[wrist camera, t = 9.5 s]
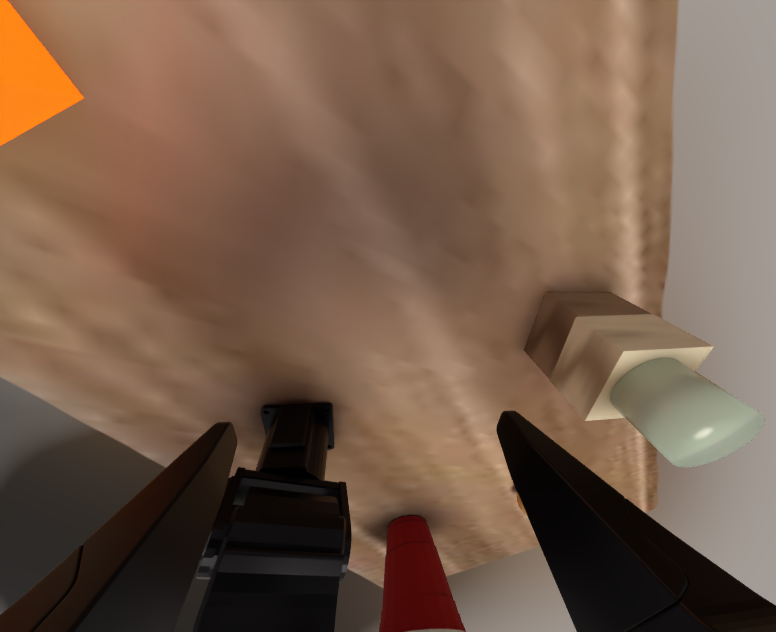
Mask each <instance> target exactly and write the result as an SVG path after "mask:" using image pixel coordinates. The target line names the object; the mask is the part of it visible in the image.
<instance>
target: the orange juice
mask: <svg viewBox="0 0 776 632" xmlns="http://www.w3.org/2000/svg"><path fill="white" fill-rule="evenodd" d="M83 98H84V97H83V96H82V95H81V94H80V92H79V91H78V90H77V89H76V87H75V86H74V85H73V83H72V82H71V81H70V80H69V78H68V77H67V76H66V74H65V73H64V72H63V71H62V69H61V68H60V67H59V66H58V64H57V63H56V62H55V60H54V59H53V58H52V57H51V55H50V54H49V53H48V52H47V50H46V49H45V48H44V46H43V45H42V44H41V43H40V41H39V40H38V39H37V38H36V36H35V35H34V34H33V32H32V31H31V30H30V29H29V27H28V26H27V25H26V23H25V22H24V21H23V20H22V18H21V17H20V16H19V15H18V13H17V12H16V11H15V9H14V8H13V7H12V6H11V4H10V3H9V2H8V1H7V0H0V145H2V144H4V143H6V142H7V141H9V140H11V139H13V138H15V137H16V136H18V135H20V134H22V133H23V132H25V131H27V130H29V129H30V128H32V127H34V126H36V125H38V124H39V123H41V122H43V121H45V120H46V119H48V118H50V117H52V116H53V115H55V114H57V113H59V112H61V111H62V110H64V109H66V108H68V107H69V106H71V105H73V104H75V103H76V102H78V101H80V100H82V99H83Z"/></svg>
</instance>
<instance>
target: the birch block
mask: <svg viewBox="0 0 776 632" xmlns="http://www.w3.org/2000/svg"><path fill="white" fill-rule="evenodd" d="M713 347H714V346H712V345H710V344H708V343H707V342H705V341H703V340H701V339H699V338H697V337H695V336H693V335H691V334H689V333H687V332H686V331H684V330H682V329H680V328H678V327H676V326H674V325H672V324H670V323H669V322H667V321H665V320H663V319H661V318H659V317H657V316H655V315H653V314H639V315H614V316H590V317H576V318H575V320H574V323H573V325H572V328H571V330H570V333H569V335H568V337H567V340H566V342H565V345H564V347H563V349H562V352H561V354H560V357H559V359H558V362H557V364H556V366H555V369H554V371H553V374H552V376H551V379H550V381H551V383H552V384H553V385H554V386H555V387H556V388H557V389H558V391H559V392H560V393H561V394H562V395H563V396H564V397H565V399H566V400H567V401H568V402H569V403H570V404H571V405H572V407H573V408H574V409H575V410H576V411H577V412H578V413H579V415H580V416H581V417H582V418H583V419H584V420H585V421H590V420H602V419H615V418H625V417H624V416H623V415H622V414H620V413H619V412H618V411H617V410H616V409H615V408H614V407H613V406H612V404H611V402H610V394H611V392H612V389H613V388H614V386H615V385H616V383H617V382H618V381H619V380H620V379H621V378H622V377H623V376H624V375H625V374H627V373H628V372H629V371H631V370H632V369H634V368H636V367H637V366H639V365H641V364H643V363H646V362H648V361H651V360H655V359H659V358H673V359H676V360H678V361H680V362H681V363H683V364H684V365H686V366H688V367H689V368H691V369H692V370H694V371H696V370H697V368H698V367H699V366H700V364H701V363H702V362H703V361H704V359H705V358H706V356H707V355H708V354H709V353H710V351H711V350H712V349H713Z"/></svg>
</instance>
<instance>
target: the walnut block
mask: <svg viewBox="0 0 776 632" xmlns="http://www.w3.org/2000/svg"><path fill="white" fill-rule="evenodd" d="M639 314H651V313H649V312H647V311H645V310H643V309H641V308H640V307H638V306H636V305H634V304H632V303H630V302H628V301H626V300H624V299H622V298H621V297H619V296H617V295H615V294H613V293H611V292H545V295H544V298H543V300H542V303H541V306H540V308H539V311H538V314H537V317H536V319H535V322H534V325H533V327H532V330H531V333H530V335H529V338H528V341H527V343H526V346H525V349H524V351H525V352H526V353H527V354H528V355H529V357H530V358H531V359H532V360H533V361H534V362H535V363H536V364H537V366H538V367H539V368H540V369H541V370H542V371H543V372H544V374H545V375H546V376H547V377H548V378H549V379H551V376H552V374H553V371H554V369H555V366H556V364H557V362H558V359H559V357H560V354H561V352H562V349H563V347H564V345H565V342H566V340H567V337H568V335H569V333H570V330H571V328H572V325H573V323H574V320H575V318H576V317H590V316H614V315H639Z"/></svg>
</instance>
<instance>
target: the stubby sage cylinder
mask: <svg viewBox="0 0 776 632" xmlns="http://www.w3.org/2000/svg"><path fill="white" fill-rule="evenodd" d="M610 402H611V404H612V406H613V407H614V408H615V409H616V410H617V411H618V412H619V413H620V414H622V415H623V416H624V417H625V418H626V419H627V420H628V421H629V422H630V423H631V424H632V425H633V426H634V427H635V428H636V429H637V430H638V431H639V432H640V433H641V434H642V435H643V436H644V437H645V438H646V439H647V440H648V441H649V442H650V443H651V444H652V445H653V446H654V447H655V448H656V449H657V450H658V451H659V452H661V453H662V454H663V455H664V456H665V457H666V458H667V459H668V460H669V461H670V462H671V463H672V464H673V465H675V466H678V467H694V466H699V465H703V464H706V463H710V462H713V461H715V460H718V459H720V458H723V457H725V456H727V455H729V454H731V453H733V452H734V451H736V450H738V449H739V448H741V447H742V446H744V445H745V444H747V443H748V442H749V441H751V440H752V439H753V438H754V437H755V436H756V435H757V434H758V433H759V431H760V430H761V429H762V427H763V425H764V422H765V418H764V416H763V414H761V413H760V412H758V411H757V410H755V409H754V408H752V407H750V406H749V405H747V404H745V403H744V402H743V401H741V400H739V399H738V398H736V397H734V396H733V395H732V394H730V393H728V392H727V391H725V390H724V389H722V388H721V387H719V386H717V385H716V384H714V383H712V382H711V381H710V380H708V379H706V378H705V377H703V376H702V375H700V374H699V373H697V372H695V371H694V370H692V369H691V368H689V367H688V366H686V365H684V364H683V363H681V362H680V361H678V360H676V359H673V358H659V359H655V360H651V361H648V362H646V363H643V364H641V365H639V366H637V367H636V368H634V369H632V370H631V371H629V372H628V373H627V374H625V375H624V376H623V377H622V378H621V379H620V380H619V381H618V382H617V383H616V385H615V386H614V388H613V389H612V392H611V394H610Z"/></svg>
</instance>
